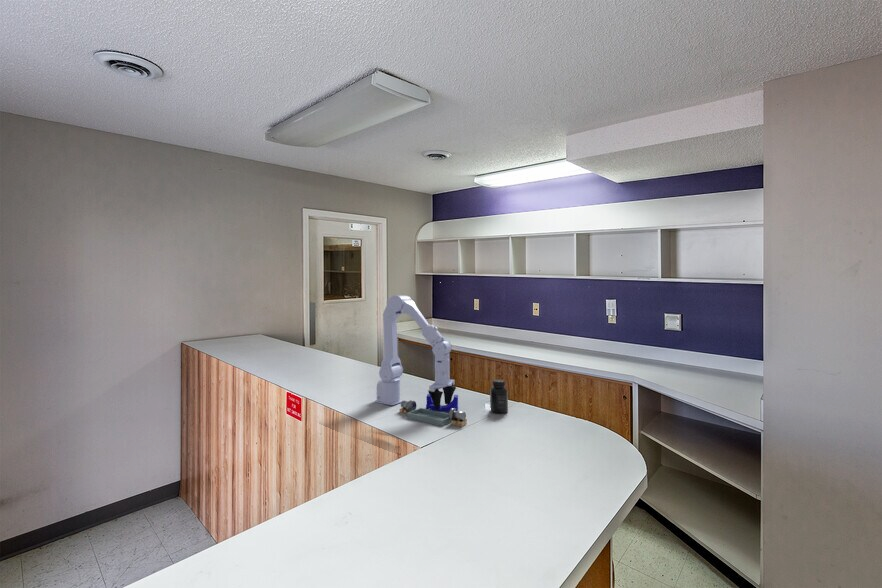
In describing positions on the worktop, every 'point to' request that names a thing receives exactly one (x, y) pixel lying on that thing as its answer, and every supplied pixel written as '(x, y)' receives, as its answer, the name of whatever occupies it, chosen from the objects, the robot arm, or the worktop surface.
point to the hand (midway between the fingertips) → (442, 406)
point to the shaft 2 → (457, 417)
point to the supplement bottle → (499, 397)
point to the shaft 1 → (407, 406)
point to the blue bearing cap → (442, 407)
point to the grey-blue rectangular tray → (429, 416)
